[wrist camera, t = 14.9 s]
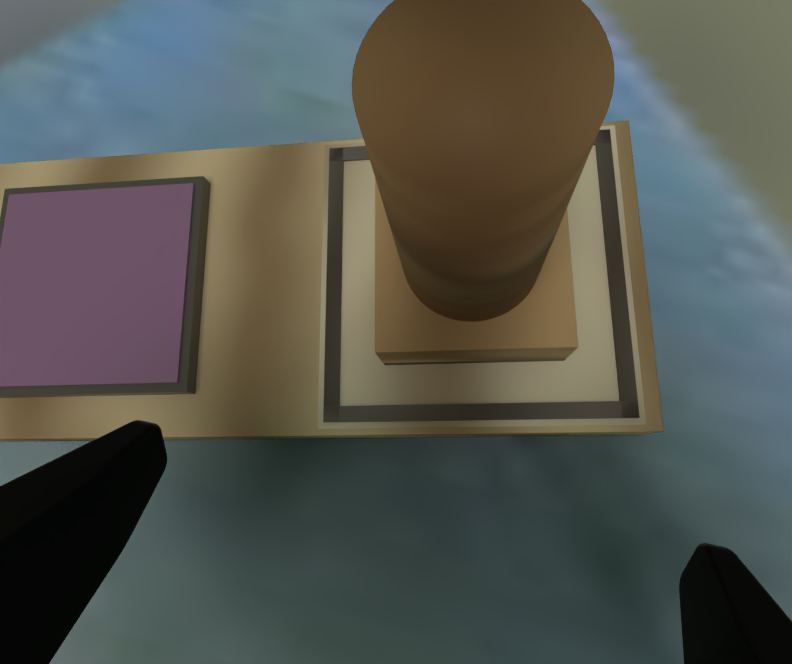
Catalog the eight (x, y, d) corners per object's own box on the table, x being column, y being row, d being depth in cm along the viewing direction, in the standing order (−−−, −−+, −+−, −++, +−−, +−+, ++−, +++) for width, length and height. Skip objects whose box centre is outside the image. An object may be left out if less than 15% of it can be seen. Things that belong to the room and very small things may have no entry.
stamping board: (613, 151, 21) (630, 117, 19) (642, 434, 19) (665, 430, 17) (21, 189, 24) (-23, 162, 21) (-19, 441, 21) (-72, 439, 19)
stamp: (551, 194, 19) (649, -93, 9) (564, 360, 17) (693, 235, 8) (384, 204, 19) (306, -56, 10) (384, 365, 18) (296, 254, 8)
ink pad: (210, 184, 20) (202, 174, 20) (195, 394, 19) (185, 391, 18) (17, 196, 21) (2, 187, 20) (-15, 398, 19) (-32, 396, 19)
